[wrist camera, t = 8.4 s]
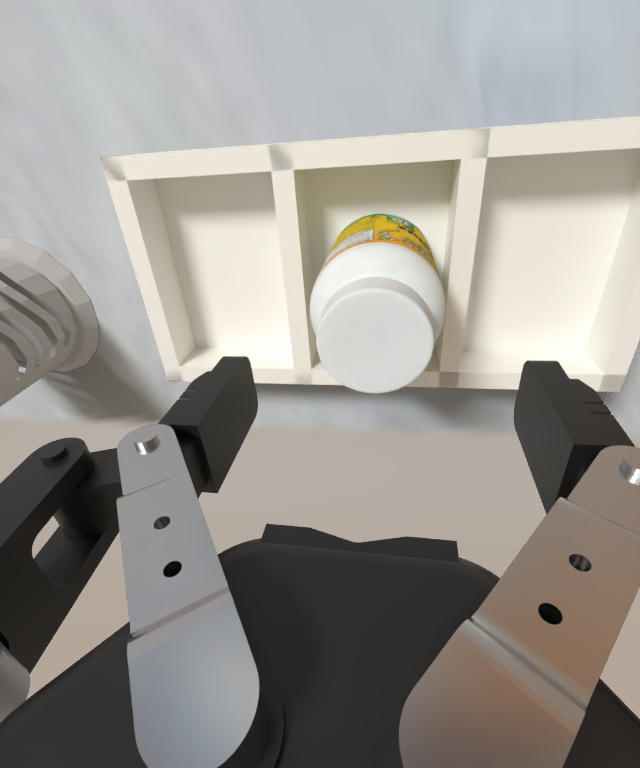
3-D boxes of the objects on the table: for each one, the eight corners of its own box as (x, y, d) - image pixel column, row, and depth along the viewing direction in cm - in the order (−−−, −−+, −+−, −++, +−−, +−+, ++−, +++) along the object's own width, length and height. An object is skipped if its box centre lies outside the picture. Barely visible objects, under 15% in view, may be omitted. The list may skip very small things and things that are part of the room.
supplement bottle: (311, 246, 22) (264, 315, 14) (402, 188, 20) (409, 229, 12) (361, 327, 24) (345, 429, 16) (449, 282, 22) (482, 373, 14)
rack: (670, 113, 18) (726, 110, 15) (591, 359, 24) (619, 392, 21) (139, 153, 22) (99, 157, 19) (191, 354, 28) (168, 380, 25)
